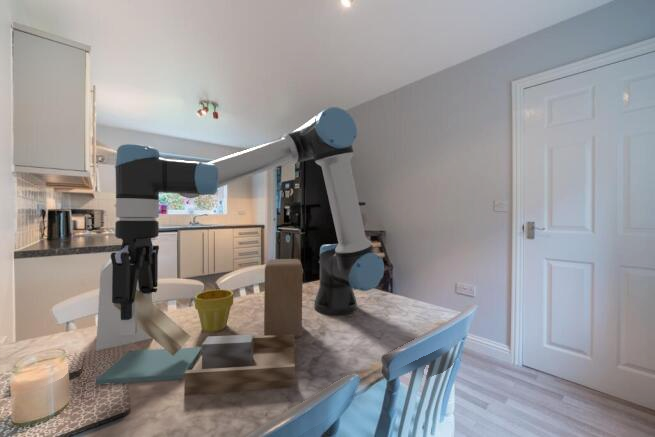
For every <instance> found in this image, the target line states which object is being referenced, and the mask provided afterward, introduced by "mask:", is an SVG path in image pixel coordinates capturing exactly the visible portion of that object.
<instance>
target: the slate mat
mask: <svg viewBox="0 0 655 437" xmlns="http://www.w3.org/2000/svg"><path fill="white" fill-rule="evenodd" d="M200 355H202V346H201V347H198V346H197V347H182V348H181V349H180V350H179V351H178V352H177V353H176V354H175V355H174V356H173V355H171V354H170V353H169V352H168V351H167V350H166V349H164V348H158V349H137V350H136V349H135V350H128V352H127V353H125V354H124V355H123V356H122V357H121V358H119V359H118V360H116V362H115V363H113V364H112V365H111V366H110V367H109V368H107V369H106V370H105V371H103V373H102V374H100V375H99V376H97V377H96V378H95V385H94V386H96V384H100V385H106V384H105V383H115V384H127V383H128V384H129V383H143V382H144V383H146V382H157V381H158V382H160V381H172V380H174V381H176V380H184V375H185V372H186V370H192V368H193V366H194V364H195V362H197V360H198V358H199V357H200Z"/></svg>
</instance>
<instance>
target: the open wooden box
mask: <svg viewBox="0 0 655 437" xmlns="http://www.w3.org/2000/svg"><path fill="white" fill-rule="evenodd" d="M201 347H202V352H201V359H200V361H199V363H198V364H197V366H196V368H195V369H190V370H186V372H185V375H184V379H183V380H184V383H183V386H184V390H183V391H184V392H183V393H184V394H183V395H184V396H188V395H189V396H190V395H202V394H203V395H204V394H205V395H206V394H217V393H218V394H219V393H231V392H232V393H233V392H234V393H235V392H243V391H258V390H259V391H260V390H274V389H275V390H277V389H287V388H295V387H296V386H295V385H296V383H295V382H296V379H295V378H296V364H295V338H294V334H290V335H268V336H264V335H254V334H238V335H237V334H235V335H234V334H233V335H212V336H209V335H208V336H207V337H206V338H205V339H204V341H203V342H202V344H201Z"/></svg>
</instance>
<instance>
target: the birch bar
mask: <svg viewBox="0 0 655 437" xmlns="http://www.w3.org/2000/svg"><path fill="white" fill-rule="evenodd" d="M134 301H137V325H138V326H139V327H140V328H141V329H142V330H143V331H145V332H146V333H147V334H148V335H149V336H150V337H152V340H154V341H155V342H156V343H157V344H158V345H159V346H161V347H162V349H166V350H167V351H168V352H169V353H170V354H171V355H173V356H174V355H175V354H176V353H177V352H178V351H179V350H180V349H181V348H184V346H185V345H186V343H187V342H188V341H189V340H190V338H191V335H190V334H189V333H188V332H187V331H185V330H184V329H183V328H182V327H181V326H180V325H178V324H177V323H176V322H175V321H174V320H173V319H172V318H171V317H169V315H167V314H166V313H165V312H164V311H163V310H161V309H160V308H159V307H158V306H157V305H155V304H154V303H153V301H152V302H151V301H150V300H149V299H148V298H146V297H145V296H144V295H143V294H142V293H141V292H140V291H138V290H137V289H136V294H135V300H134ZM114 306H115V307H117V308H118V309H119V310H120V311H121V305H120V304H114Z"/></svg>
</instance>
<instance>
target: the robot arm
mask: <svg viewBox="0 0 655 437" xmlns="http://www.w3.org/2000/svg"><path fill="white" fill-rule="evenodd" d="M357 134H358V129H357V125H356V122H355V120H354V118H353V117H352V116H351V114H350V113H349V112H347V111H346V110H345V109H343V108H341V107H337V106H331V107H327V108H325V109H324V110H321V111H319V112H317V114H316V115H315V116H314V117H312V118H311V119H310V120H308V121H306V123H304V124H303V125H301V126H300V127H298V128H297V129H295V130H293V131H292V132H288V133H285V134H283V135H282V137H281V139H277V140H274V141H272V142H268V143H265V144H261V145H259V146H256V147H252V148H249V149H246V150H243V151H240V152H236V153H234V154H233V153H232V154H230V155H227V156H224V157H221V158H218V159H215V160H211V161H208V162H204V161H191V160H190V161H189V160H180V159H178V160H177V159H168V158H163V157H161V155H160V152H159V150H158V149H157V148H154V147H153V146H152V147H151V146H149V145H148V146H146V145H143V144H134V143H130V144H129V143H124V144H121V145H120V146H118V148H117V149H116V159H115V165H114V168H115V204H114V207H115V217H116V218H117V219H118V218H119V220H116V221H115V224H114V225H115V229H114V230H115V231H114V232H115V233H114V235H115V237H116V239H120V240H122V242H121V247H120V250H119V251H118V252H112V253H110V259H111V260H112V265H113V271H112V303H115V304H120V305H121V335H133V334H136V333H137V301H134V300H135V294H136V287H137V281H138V284H139V291H140V292H141V293H142V294H143V295H144V296H145V297H146V298H148V299H149V300H150V301H151V302H152V303H153V293H157V291H158V284H159V282H158V276H159V275H158V266H159V265H158V260H159V258H158V255H159V249H160V246H159V245H157V244H155V245H153V241H152V239H154V238H157V237H159V234H160V233H159V229H160V228H159V222H158V220H156V219H159V217H160V201H159V200H160V198H159V197H160V196H159V194H160V193H163V194H179V195H180V196H182V197H185V198H187V199H194V198H197V197H199V196H207V195H208V196H209V195H210V196H212V195H216V194H217V191H218V189H219V188H221V187H225V186H227V185H230V184H233V183H236V182H239V181H242V180H245V179H247V178H251V177H252V176H254V175H255V176H256V175H258V174H261V173H264V172H266V171H269V170H272V169H274V168H277V167H280V166H284V165H286V164H289V163H291V164H294V165H295V164H298V163H301V162H305V161H309V160H314V162H315V163H316V165H318V166H320V167H321V170H322V175H323V179H324V184H325V189H326V194H327V196H328V197H327V198H328V202H329V206H330V212H331V215H332V219H333V224H334V228H335V233H336V239H337V242H338V243H333V244H332V243H331V244H330V243H329V244H322V245H321V246H320V248H319V287H318V288H317V293H316V296H315V299H314V310H315V311H317V312H318V313H322V314H324V315H330V316H344V315H349V314H352V313H354V312H355V311H357V307H358V306H357V305H358V304H357V299H356V295H355V292H354V290H358V291H361V292H368V291H370V290H374V289H375V287H377V286H378V285H379V284H380V282H381V279H383V277H384V274H385V273H384V272H385V263H384V260H383V258H382V257H381V256H379V254H378V253H375V251H374V247H373V243H372V241H371V240H370V239H368V238H367V237H366V232H365V227H364V222H363V217H362V214H361V210H360V209H361V208H360V203H359V198H358V194H357V189H356V184H355V180H354V174H353V171H352V170H353V169H352V164H351V159H352V158H353V156H354V154H355V153H354V148H353V144H354V142H355V139H356V137H357ZM130 264H133V265H130ZM151 292H152V293H151Z"/></svg>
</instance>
